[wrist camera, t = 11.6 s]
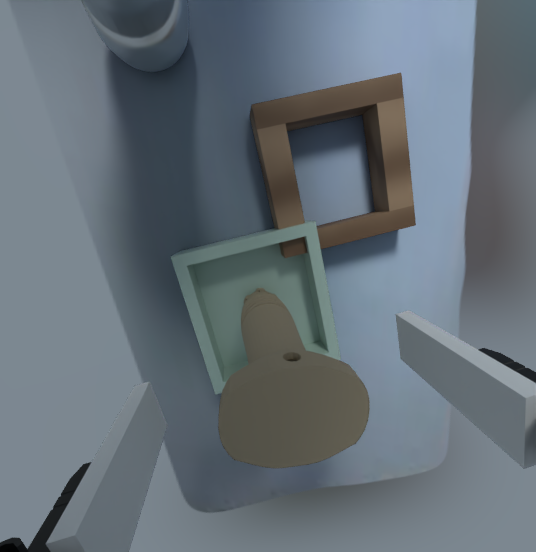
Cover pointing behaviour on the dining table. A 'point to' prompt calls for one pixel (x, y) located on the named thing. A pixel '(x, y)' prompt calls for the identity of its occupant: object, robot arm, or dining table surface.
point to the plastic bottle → (142, 30)
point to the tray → (244, 281)
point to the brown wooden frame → (380, 149)
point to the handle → (287, 394)
